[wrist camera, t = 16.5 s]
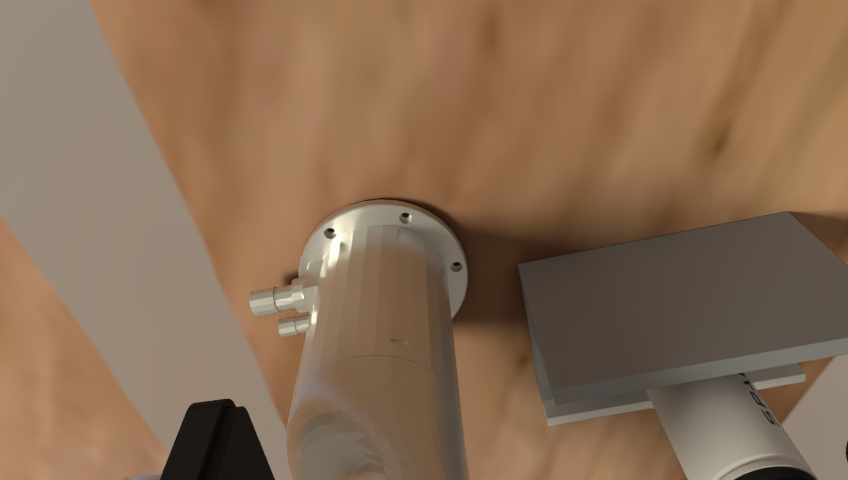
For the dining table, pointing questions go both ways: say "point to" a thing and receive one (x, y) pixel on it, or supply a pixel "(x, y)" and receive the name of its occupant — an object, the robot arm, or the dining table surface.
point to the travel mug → (726, 431)
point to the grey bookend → (682, 314)
